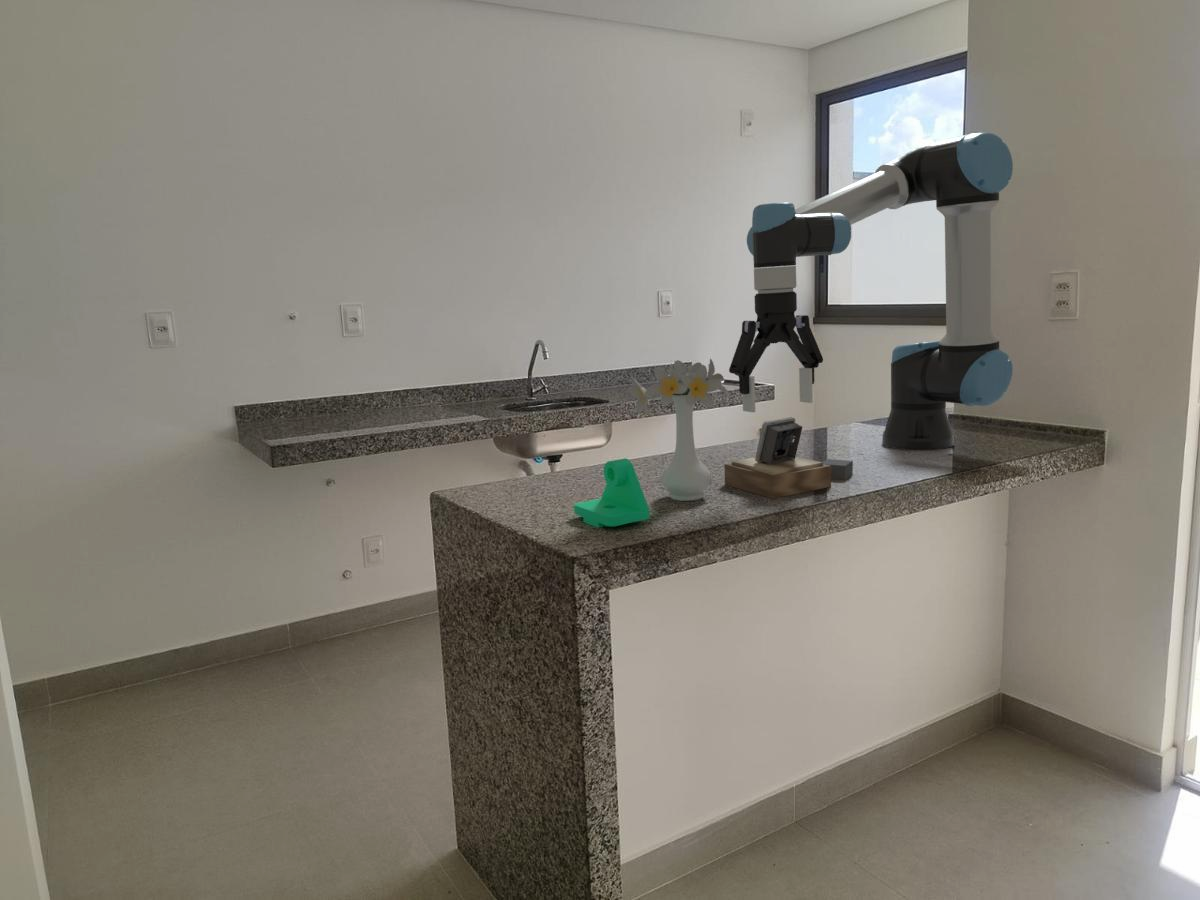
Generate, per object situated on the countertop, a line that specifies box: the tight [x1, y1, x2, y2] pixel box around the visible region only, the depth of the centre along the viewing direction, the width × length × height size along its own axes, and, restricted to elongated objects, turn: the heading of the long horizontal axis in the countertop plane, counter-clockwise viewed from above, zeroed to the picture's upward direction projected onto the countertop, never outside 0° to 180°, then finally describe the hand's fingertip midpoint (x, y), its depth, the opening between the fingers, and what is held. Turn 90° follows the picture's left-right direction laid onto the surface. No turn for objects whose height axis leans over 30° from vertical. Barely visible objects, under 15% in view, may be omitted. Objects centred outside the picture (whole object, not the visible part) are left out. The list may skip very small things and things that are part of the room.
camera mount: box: [573, 458, 650, 528], centre depth 144 cm, size 12×8×10 cm, turn 33°
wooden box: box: [724, 456, 832, 499], centre depth 163 cm, size 14×14×5 cm
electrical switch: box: [754, 416, 803, 465], centre depth 162 cm, size 8×5×8 cm, turn 126°
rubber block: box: [822, 458, 854, 481], centre depth 169 cm, size 5×5×3 cm
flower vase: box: [628, 357, 730, 502], centre depth 155 cm, size 13×18×25 cm
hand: (778, 406), depth 161 cm, fingers open, 13 cm apart
